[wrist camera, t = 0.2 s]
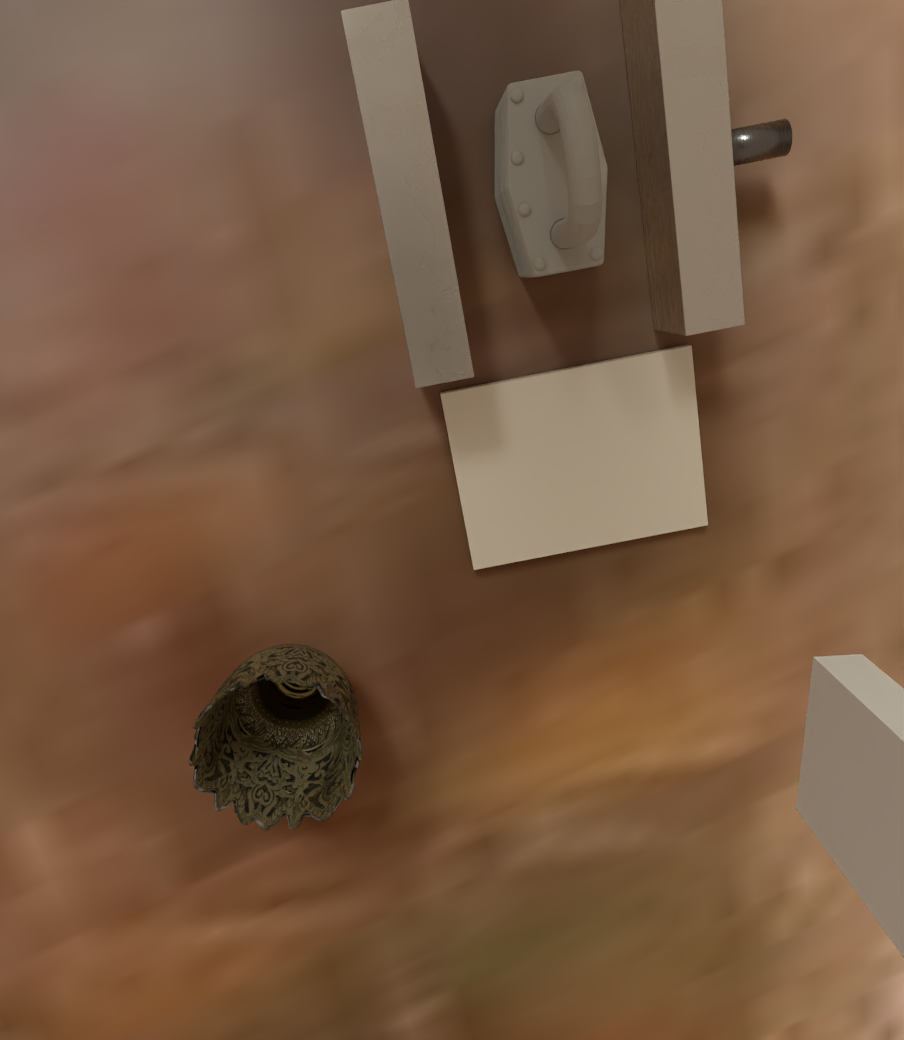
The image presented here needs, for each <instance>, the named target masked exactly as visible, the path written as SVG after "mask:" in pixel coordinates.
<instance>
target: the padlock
mask: <svg viewBox="0 0 904 1040" xmlns="http://www.w3.org/2000/svg"><path fill="white" fill-rule="evenodd" d="M607 171H608V167H607V163H606V160H605V156H604V152H603V148H602V144H601V141H600V137H599V133H598V129H597V126H596V122H595V118H594V114H593V111H592V107H591V103H590V99H589V95H588V92H587V88H586V84H585V80H584V77H583V74H582V72H581V71H573V72H567V73H562V74H557V75H551V76H546V77H541V78H535V79H530V80H524V81H519V82H514V83H510V84H509V85H508V86H507V88H506V90H505V92H504V94H503V96H502V98H501V100H500V102H499V104H498V106H497V108H496V110H495V201H496V204H497V207H498V211H499V214H500V217H501V220H502V224H503V227H504V230H505V233H506V237H507V240H508V243H509V246H510V249H511V253H512V256H513V259H514V262H515V266H516V269H517V272H518V275H519V276H520V277H541V276H547V275H552V274H557V273H563V272H568V271H573V270H579V269H584V268H590V267H595V266H600V265H602V264H603V262H604V245H605V220H606V195H607Z"/></svg>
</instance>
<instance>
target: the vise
mask: <svg viewBox="0 0 904 1040" xmlns="http://www.w3.org/2000/svg"><path fill="white" fill-rule="evenodd" d="M620 9H621V19H622V28H623V38H624V47H625V57H626V66H627V76H628V85H629V95H630V104H631V114H632V123H633V133H634V142H635V152H636V161H637V171H638V180H639V190H640V199H641V209H642V219H643V228H644V238H645V247H646V257H647V266H648V276H649V285H650V295H651V304H652V314H653V323H654V329H655V330H659V331H664V332H669V333H674V334H679V335H684V336H689V335H694V334H699V333H704V332H709V331H714V330H719V329H725V328H730V327H735V326H740V325H745V319H744V305H743V291H742V277H741V263H740V249H739V235H738V221H737V206H736V192H735V178H734V166H735V165H741V164H746V163H751V162H756V161H761V160H766V159H771V158H776V157H782V156H786V155H787V154H788V153H789V151H790V149H791V145H792V129H791V125H790V123H789V121H788V120H787V119H782V120H777V121H772V122H767V123H761V124H756V125H751V126H746V127H741V128H736V129H731V122H730V108H729V93H728V79H727V65H726V51H725V37H724V23H723V9H722V0H620ZM341 15H342V20H343V25H344V30H345V35H346V40H347V45H348V50H349V55H350V60H351V65H352V70H353V75H354V80H355V85H356V90H357V95H358V100H359V105H360V110H361V115H362V120H363V125H364V130H365V135H366V140H367V145H368V150H369V155H370V161H371V166H372V171H373V176H374V181H375V186H376V191H377V196H378V201H379V206H380V211H381V216H382V221H383V226H384V231H385V236H386V241H387V246H388V251H389V256H390V261H391V266H392V271H393V276H394V281H395V286H396V291H397V296H398V301H399V306H400V311H401V316H402V321H403V326H404V332H405V337H406V342H407V347H408V352H409V357H410V362H411V367H412V372H413V377H414V382H415V387H416V388H420V387H425V386H430V385H436V384H441V383H446V382H451V381H456V380H461V379H467V378H472V377H474V372H473V366H472V360H471V355H470V349H469V343H468V338H467V332H466V326H465V321H464V315H463V309H462V303H461V298H460V292H459V286H458V281H457V275H456V269H455V264H454V258H453V252H452V246H451V241H450V235H449V229H448V224H447V218H446V212H445V207H444V201H443V195H442V189H441V184H440V178H439V172H438V167H437V161H436V155H435V150H434V144H433V138H432V133H431V127H430V121H429V115H428V110H427V104H426V98H425V93H424V87H423V81H422V76H421V70H420V64H419V58H418V53H417V47H416V41H415V36H414V30H413V24H412V19H411V13H410V7H409V2H408V0H392V1H387V2H382V3H377V4H372V5H367V6H362V7H357V8H351V9H346V10H341Z"/></svg>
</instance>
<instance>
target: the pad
mask: <svg viewBox="0 0 904 1040" xmlns="http://www.w3.org/2000/svg"><path fill="white" fill-rule="evenodd" d="M440 395H441V401H442V406H443V411H444V416H445V422H446V427H447V432H448V438H449V443H450V448H451V453H452V459H453V464H454V469H455V474H456V480H457V485H458V490H459V496H460V501H461V506H462V511H463V517H464V522H465V527H466V532H467V538H468V543H469V548H470V553H471V559H472V564H473V569H474V570H477V569H482V568H487V567H492V566H498V565H503V564H508V563H513V562H519V561H524V560H529V559H534V558H539V557H545V556H550V555H555V554H560V553H565V552H571V551H576V550H581V549H586V548H591V547H597V546H602V545H607V544H612V543H617V542H623V541H628V540H633V539H638V538H644V537H649V536H654V535H659V534H664V533H670V532H675V531H680V530H685V529H690V528H696V527H701V526H706V525H708V519H707V508H706V497H705V486H704V475H703V464H702V453H701V442H700V431H699V420H698V410H697V399H696V388H695V377H694V366H693V355H692V346H691V345H683V346H677V347H672V348H667V349H662V350H657V351H652V352H646V353H641V354H636V355H631V356H626V357H621V358H615V359H610V360H605V361H600V362H595V363H590V364H585V365H579V366H574V367H569V368H564V369H559V370H554V371H548V372H543V373H538V374H533V375H528V376H523V377H517V378H512V379H507V380H502V381H497V382H492V383H486V384H481V385H476V386H471V387H466V388H461V389H455V390H450V391H445V392H440Z"/></svg>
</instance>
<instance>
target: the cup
mask: <svg viewBox="0 0 904 1040" xmlns="http://www.w3.org/2000/svg"><path fill="white" fill-rule="evenodd" d="M291 683H294V684H298V685H299V686H296V685H293V684H291ZM193 728H195V729H197V731H196V734H195V736H194V739H195V745H194V748H193V751H192V753H191V756H190V759H189V765H190V766H193V765H194V766H195V769H194V779H193V783H194V787H195V788H196V789H197V790H198V791H200V792H207V793H208V792H209V793H211V792H212V793H214V794H215V799H214V803H215V810H216V811H221V810H223V809H226V808H228V807H227V806H228V805H229V804H231V803H232V802H234V811H235V813H237V815H238V818H239V820H240V822H241V823H242V824H244V825H248V824H250V823H251V822H252V821H255V820H256V822H257V824H258V825H259V826H260V827H261V829H263V830H268V829H270V828H272V827H273V826H275V825H276V824H277V823H278V822H279V821H280V820H281V819H282V817H283V816H284V815H286V818H287V819H288V827H289V828H290V830H293V829H295V828H297V827H299V825H300V824H301V822H302V820H303V818H304V817H305V816H306V817H308V816H312V817H313V818H314V819H316V820H319V821H324V820H327V819H328V818H329V817H330V816H331V815H332V814H333V813H334V811H335V810H336V808H337V807H338V805H339V803H340V802H341V800H342V799H344V798H345V800H347V799H349V798H350V797H351V795H352V793H353V791H354V787H355V785H354V778H355V773H356V770H357V768H358V767H359V761H360V760H362V758H363V757H362V747H361V738H360V726H359V716H358V709H357V703H356V698H355V694H354V691H353V688H352V686H351V683H350V681H349V679H348V677H347V675H346V674H345V672H344V671H343V670H342V668H341V667H340V666H339V665H338V664H337V663H336V662H335V661H334V660H333V659H331V658H330V657H329V656H327V655H326V654H324V653H322V652H320V651H318V650H316V649H314V648H311V647H307V646H302V645H294V644H287V645H279V646H274V647H270V648H267V649H264V650H262V651H260V652H258V653H256V654H254V655H253V656H251V657H250V658H248V659H247V660H246V661H244V662H243V663H242V664H241V665H240V666H239V667H238V668H237V669H236V670H235V671H234V672H233V673H232V674H231V675H230V676H229V678H228V679H227V680H226V681H225V682H224V684H223V685H222V686H221V688H220V689H219V690H218V692H217V693H216V694H215V696H214V697H213V698H212V700H211V701H210V702H209V704H208V705H207V706H206V708H205V709H204V710H203V712H202V713H201V714H200V715H199V717H198V718H197V719H196V721H195V723H194V726H193Z"/></svg>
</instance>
